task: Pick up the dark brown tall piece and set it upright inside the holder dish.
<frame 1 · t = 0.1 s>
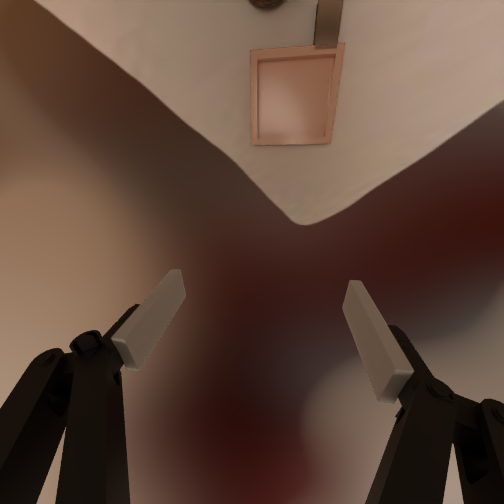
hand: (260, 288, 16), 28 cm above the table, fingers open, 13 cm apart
matchbox: (325, 31, 28), on the table
holder dish: (292, 102, 32), on the table
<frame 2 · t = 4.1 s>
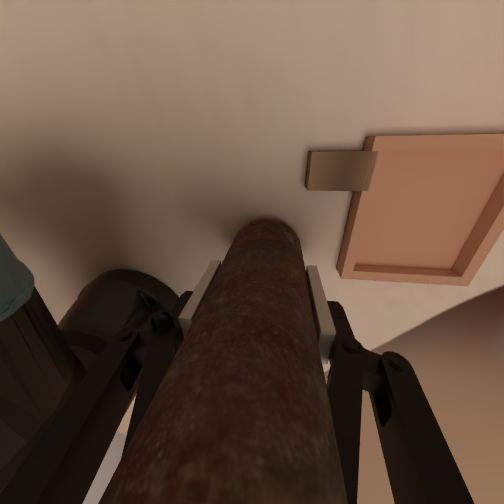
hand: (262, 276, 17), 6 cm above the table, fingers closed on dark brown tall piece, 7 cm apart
matchbox: (335, 169, 18), on the table
holder dish: (414, 214, 19), on the table
dark brown tall piece: (266, 244, 23), on the table, touching gripper
when the fingers open (8 cm above the table, at t = 9.6 s): dark brown tall piece drops 1 cm, resting on holder dish.
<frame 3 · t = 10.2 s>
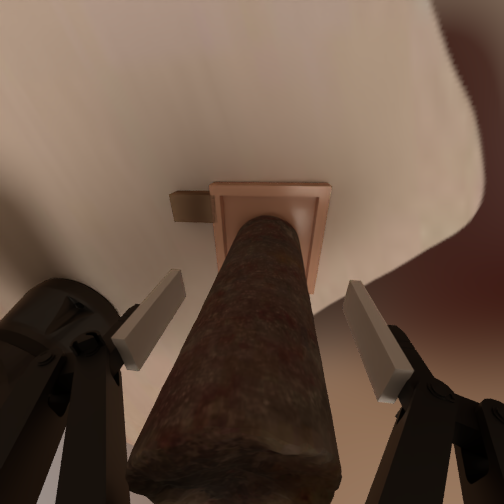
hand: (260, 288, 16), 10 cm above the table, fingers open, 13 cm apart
matchbox: (200, 204, 23), on the table
holder dish: (267, 238, 24), on the table
dark brown tall piece: (267, 240, 24), resting on holder dish
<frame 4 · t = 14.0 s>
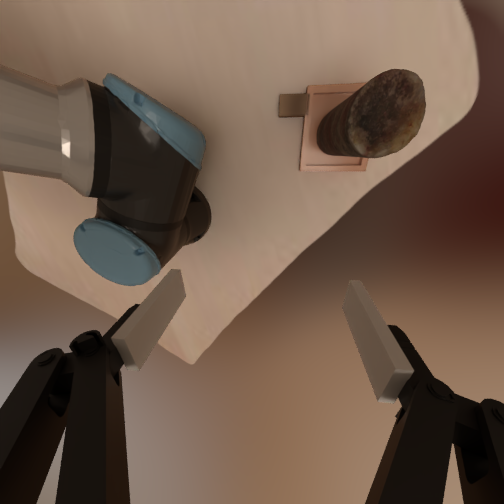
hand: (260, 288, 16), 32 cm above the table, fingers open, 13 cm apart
matchbox: (293, 106, 36), on the table
holder dish: (335, 132, 37), on the table
dark brown tall piece: (336, 132, 36), resting on holder dish
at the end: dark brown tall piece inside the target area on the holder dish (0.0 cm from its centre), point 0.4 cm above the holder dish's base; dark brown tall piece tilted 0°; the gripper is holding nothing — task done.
